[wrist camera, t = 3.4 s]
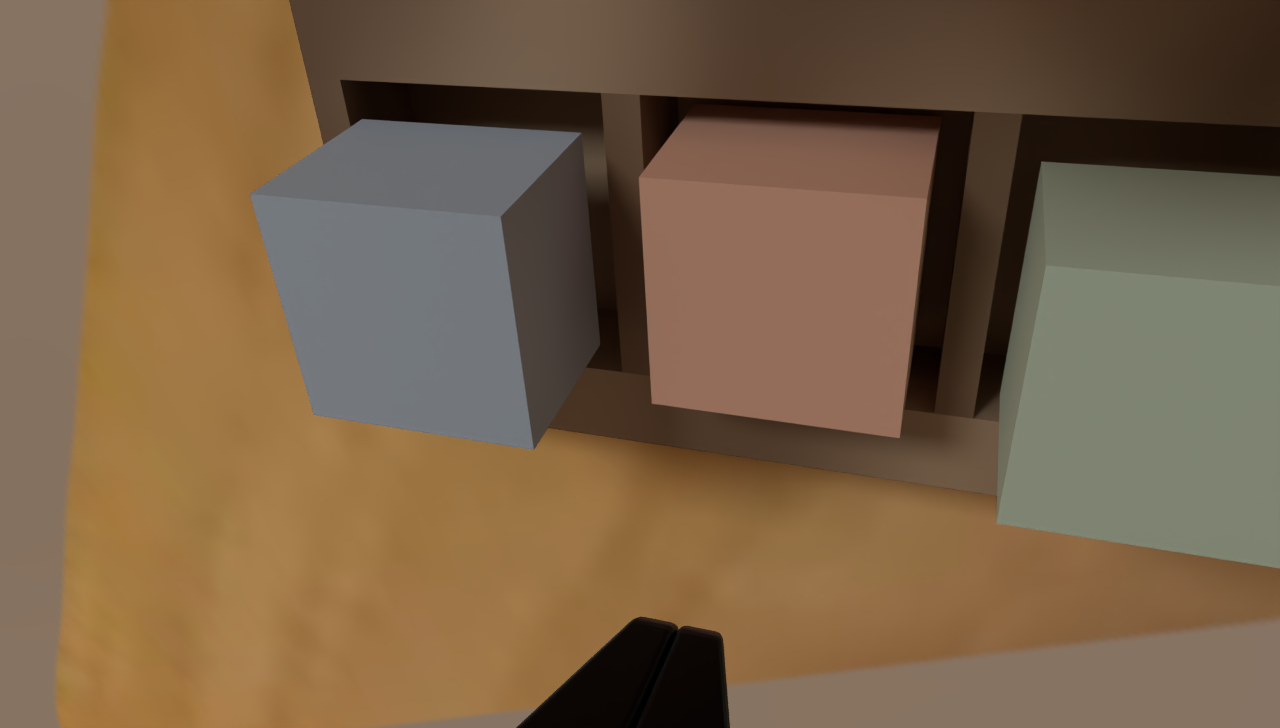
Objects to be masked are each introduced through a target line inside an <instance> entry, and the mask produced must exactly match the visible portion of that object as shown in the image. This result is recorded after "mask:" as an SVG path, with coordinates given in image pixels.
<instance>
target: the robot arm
mask: <svg viewBox="0 0 1280 728" xmlns="http://www.w3.org/2000/svg"><path fill="white" fill-rule="evenodd" d="M517 728H730V723H729V709H728V696H727V683H726V670H725V658H724V645H723V638H722V636H721V634H720V633H718V632H715V631H711V630H706V629H701V628H696V627H691V626H683V627H681V628H680V629H678V627H677V626H676V625H675V624H673V623H671V622H666V621H662V620H657V619H652V618H647V617H638V618H635V619H633V620H632V621H631V622H629V623H628V624H627V625H626V626H625V627H624V628H623V629H622V630H621V631H620V632H619V633H618V634H616V635H615V636H614V637H613V638H612V639H611V640H610V641H609V642H608V643H607V644H606V645H605V646H604V647H602V648H601V649H600V650H599V651H598V652H597V653H596V654H595V655H594V656H593V657H592V658H591V659H590V660H588V661H587V662H586V663H585V664H584V665H583V666H582V667H581V668H580V669H579V670H578V671H577V672H576V673H575V674H573V675H572V676H571V677H570V678H569V679H568V680H567V681H566V682H565V683H564V684H563V685H562V686H561V687H559V688H558V689H557V690H556V691H555V692H554V693H553V694H552V695H551V696H550V697H549V698H548V699H547V700H545V701H544V702H543V703H542V704H541V705H540V706H539V707H538V708H537V709H536V710H535V711H534V712H533V713H531V715H529V716H528V717H527V718H526V719H525V720H524V721H523V722H522V723H521V724H520V725H519V726H517Z"/></svg>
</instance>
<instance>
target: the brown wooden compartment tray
mask: <svg viewBox="0 0 1280 728" xmlns="http://www.w3.org/2000/svg"><path fill="white" fill-rule="evenodd" d="M289 2H290V6H291V10H292V14H293V18H294V23H295V27H296V31H297V35H298V39H299V44H300V48H301V52H302V56H303V60H304V64H305V69H306V73H307V77H308V81H309V85H310V90H311V94H312V98H313V102H314V106H315V110H316V115H317V119H318V123H319V127H320V131H321V136H322V140H323V144H326V143H327V142H329V141H330V140H332V139H333V138H335V137H336V136H338V135H339V134H341V133H342V132H344V131H345V130H347V129H348V128H350V127H351V126H353V125H354V124H356V123H357V122H359V121H360V120H362V119H367V120H383V121H399V122H415V123H431V124H447V125H463V126H479V127H495V128H511V129H527V130H543V131H560V132H576V133H582V144H583V155H584V167H585V178H586V189H587V200H588V211H589V223H590V234H591V245H592V256H593V268H594V279H595V290H596V301H597V312H598V324H599V335H600V346H599V347H598V349H597V350H596V352H595V354H594V355H593V357H592V358H591V360H590V362H589V363H588V365H587V366H586V368H585V369H584V371H583V373H582V374H581V376H580V377H579V379H578V381H577V382H576V384H575V385H574V387H573V388H572V390H571V392H570V393H569V395H568V396H567V398H566V400H565V401H564V403H563V404H562V406H561V408H560V409H559V411H558V412H557V414H556V415H555V417H554V419H553V420H552V422H551V423H550V425H549V427H548V428H553V429H559V430H566V431H573V432H579V433H586V434H592V435H599V436H606V437H612V438H619V439H625V440H632V441H639V442H645V443H652V444H658V445H665V446H671V447H678V448H685V449H691V450H698V451H704V452H711V453H718V454H724V455H731V456H737V457H744V458H751V459H757V460H764V461H770V462H777V463H784V464H790V465H797V466H803V467H810V468H817V469H823V470H830V471H836V472H843V473H850V474H856V475H863V476H869V477H876V478H882V479H889V480H896V481H902V482H909V483H915V484H922V485H929V486H935V487H942V488H948V489H955V490H962V491H968V492H975V493H981V494H988V495H995V496H997V483H998V446H999V409H1000V391H1001V385H1002V380H1003V374H1004V368H1005V363H1006V357H1007V352H1008V346H1009V340H1010V335H1011V329H1012V323H1013V318H1014V312H1015V307H1016V301H1017V295H1018V290H1019V284H1020V279H1021V273H1022V267H1023V262H1024V256H1025V251H1026V245H1027V239H1028V234H1029V228H1030V222H1031V217H1032V211H1033V206H1034V200H1035V194H1036V189H1037V183H1038V178H1039V172H1040V166H1041V162H1056V163H1072V164H1088V165H1104V166H1120V167H1136V168H1152V169H1168V170H1184V171H1200V172H1216V173H1232V174H1248V175H1264V176H1280V0H289ZM694 104H711V105H730V106H750V107H769V108H788V109H807V110H827V111H846V112H865V113H884V114H903V115H923V116H942V117H941V125H940V134H939V142H938V151H937V160H936V168H935V177H934V185H933V194H932V202H931V211H930V219H929V228H928V237H927V245H926V254H925V262H924V271H923V279H922V288H921V297H920V305H919V314H918V322H917V331H916V338H915V344H914V350H913V357H912V363H911V369H910V376H909V382H908V388H907V395H906V401H905V407H904V414H903V420H902V426H901V433H900V438H894V437H887V436H880V435H873V434H866V433H859V432H851V431H844V430H837V429H830V428H823V427H816V426H809V425H801V424H794V423H787V422H780V421H773V420H766V419H759V418H751V417H744V416H737V415H730V414H723V413H716V412H709V411H702V410H694V409H687V408H680V407H673V406H666V405H659V404H652V397H651V380H650V363H649V345H648V328H647V311H646V293H645V276H644V259H643V241H642V224H641V207H640V189H639V176H640V175H641V174H642V172H643V171H644V170H645V169H646V167H647V166H648V165H649V163H650V162H651V161H652V159H653V158H654V157H655V155H656V154H657V153H658V152H659V150H660V149H661V148H662V146H663V145H664V144H665V142H666V141H667V140H668V138H669V137H670V136H671V135H672V133H673V132H674V131H675V129H676V128H677V127H678V125H679V124H680V123H681V121H682V120H683V119H684V118H685V116H686V115H687V114H688V112H689V111H690V110H691V108H692V107H693V106H694Z"/></svg>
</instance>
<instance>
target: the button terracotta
mask: <svg viewBox="0 0 1280 728" xmlns="http://www.w3.org/2000/svg"><path fill="white" fill-rule="evenodd" d="M941 117H942V116H923V115H903V114H884V113H865V112H846V111H827V110H807V109H788V108H769V107H750V106H730V105H711V104H694V106H693V107H692V108H691V110H690V111H689V112H688V114H687V115H686V116H685V118H684V119H683V120H682V121H681V123H680V124H679V125H678V127H677V128H676V129H675V131H674V132H673V133H672V135H671V136H670V137H669V138H668V140H667V141H666V142H665V144H664V145H663V146H662V148H661V149H660V150H659V152H658V153H657V154H656V155H655V157H654V158H653V159H652V161H651V162H650V163H649V165H648V166H647V167H646V169H645V170H644V171H643V172H642V174H641V175H640V176H639V189H640V207H641V224H642V241H643V259H644V276H645V293H646V311H647V328H648V345H649V363H650V380H651V397H652V404H659V405H666V406H673V407H680V408H687V409H694V410H702V411H709V412H716V413H723V414H730V415H737V416H744V417H751V418H759V419H766V420H773V421H780V422H787V423H794V424H801V425H809V426H816V427H823V428H830V429H837V430H844V431H851V432H859V433H866V434H873V435H880V436H887V437H894V438H900V433H901V426H902V420H903V414H904V407H905V401H906V395H907V388H908V382H909V376H910V369H911V363H912V357H913V350H914V344H915V338H916V331H917V322H918V314H919V305H920V297H921V288H922V279H923V271H924V262H925V254H926V245H927V237H928V228H929V219H930V211H931V202H932V194H933V185H934V177H935V168H936V160H937V151H938V142H939V134H940V125H941Z"/></svg>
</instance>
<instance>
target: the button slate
mask: <svg viewBox="0 0 1280 728" xmlns="http://www.w3.org/2000/svg"><path fill="white" fill-rule="evenodd" d="M250 196H251V200H252V203H253V207H254V210H255V214H256V217H257V220H258V224H259V227H260V231H261V234H262V238H263V241H264V245H265V248H266V251H267V255H268V258H269V262H270V265H271V269H272V272H273V276H274V279H275V283H276V286H277V289H278V293H279V296H280V300H281V303H282V307H283V310H284V314H285V317H286V320H287V324H288V327H289V331H290V334H291V338H292V341H293V345H294V348H295V352H296V355H297V358H298V362H299V365H300V369H301V372H302V376H303V379H304V383H305V386H306V389H307V393H308V396H309V400H310V403H311V407H312V410H313V414H314V415H317V416H324V417H330V418H336V419H343V420H349V421H355V422H361V423H368V424H374V425H380V426H387V427H393V428H399V429H405V430H412V431H418V432H424V433H431V434H437V435H443V436H450V437H456V438H462V439H468V440H475V441H481V442H487V443H494V444H500V445H506V446H512V447H519V448H525V449H531V450H534V449H535V447H536V446H537V444H538V442H539V441H540V439H541V438H542V436H543V434H544V433H545V431H546V430H547V428H548V427H549V425H550V423H551V422H552V420H553V419H554V417H555V415H556V414H557V412H558V411H559V409H560V408H561V406H562V404H563V403H564V401H565V400H566V398H567V396H568V395H569V393H570V392H571V390H572V388H573V387H574V385H575V384H576V382H577V381H578V379H579V377H580V376H581V374H582V373H583V371H584V369H585V368H586V366H587V365H588V363H589V362H590V360H591V358H592V357H593V355H594V354H595V352H596V350H597V349H598V347H599V346H600V335H599V324H598V312H597V301H596V290H595V279H594V268H593V256H592V245H591V234H590V223H589V211H588V200H587V189H586V178H585V167H584V155H583V144H582V133H576V132H560V131H543V130H527V129H511V128H495V127H479V126H463V125H447V124H431V123H415V122H399V121H383V120H367V119H362V120H360V121H359V122H357V123H356V124H354V125H353V126H351V127H350V128H348V129H347V130H345V131H344V132H342V133H341V134H339V135H338V136H336V137H335V138H333V139H332V140H330V141H329V142H327V143H326V144H324V145H323V146H321V147H320V148H318V149H317V150H315V151H314V152H312V153H311V154H309V155H308V156H306V157H305V158H303V159H302V160H300V161H299V162H297V163H296V164H294V165H293V166H291V167H290V168H288V169H287V170H285V171H284V172H282V173H281V174H279V175H278V176H276V177H275V178H273V179H272V180H270V181H269V182H267V183H266V184H264V185H263V186H261V187H260V188H258V189H257V190H255V191H254V192H252V193H251V194H250Z"/></svg>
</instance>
